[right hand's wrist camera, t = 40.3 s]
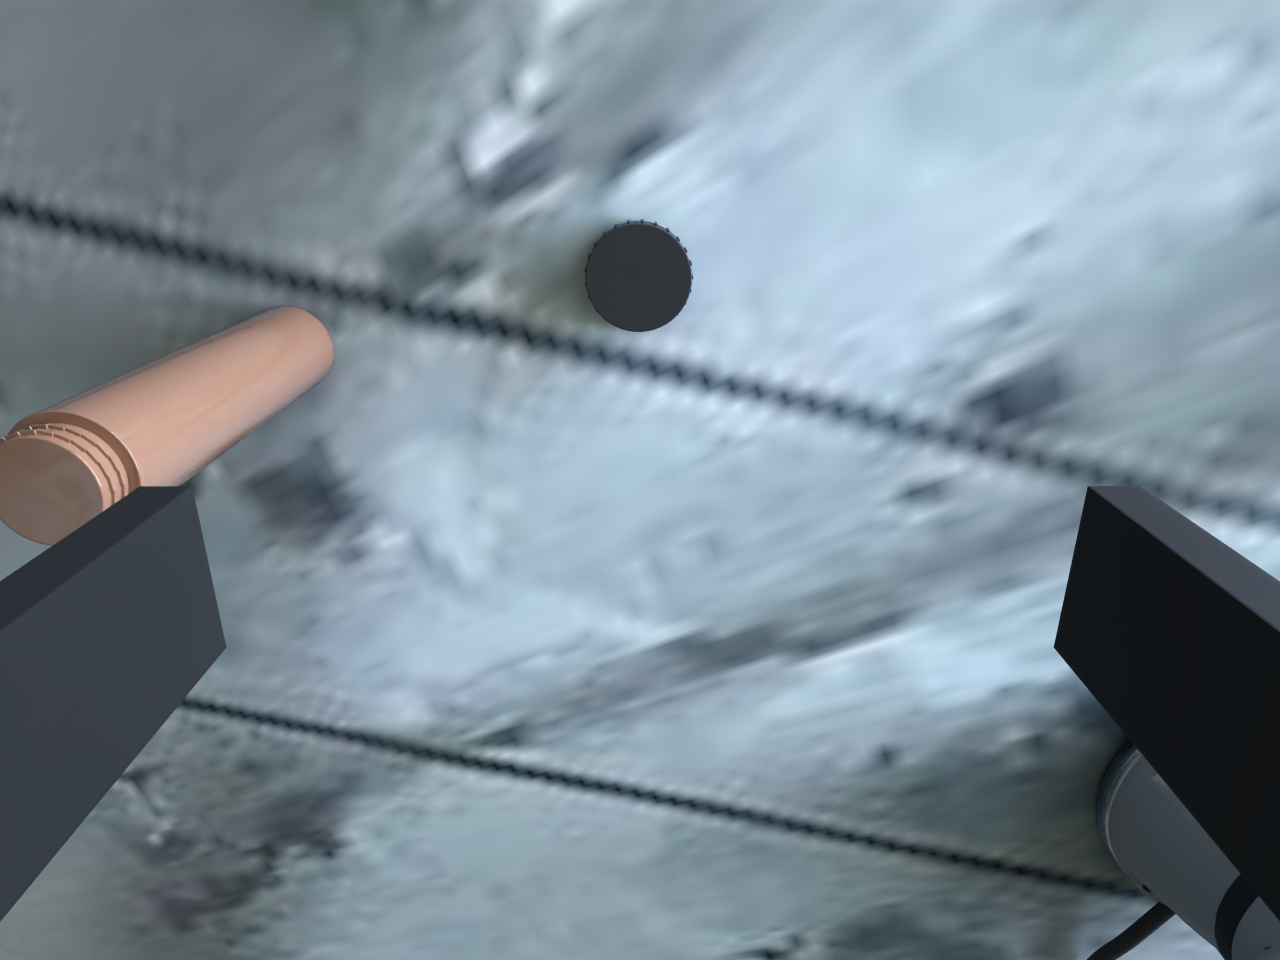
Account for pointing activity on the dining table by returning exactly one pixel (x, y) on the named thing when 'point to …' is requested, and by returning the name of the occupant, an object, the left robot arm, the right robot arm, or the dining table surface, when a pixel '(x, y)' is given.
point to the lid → (638, 276)
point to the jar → (156, 421)
